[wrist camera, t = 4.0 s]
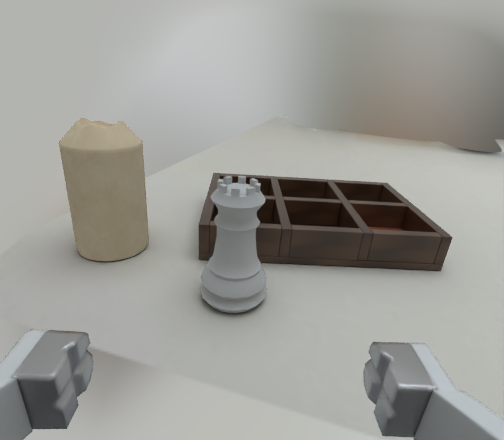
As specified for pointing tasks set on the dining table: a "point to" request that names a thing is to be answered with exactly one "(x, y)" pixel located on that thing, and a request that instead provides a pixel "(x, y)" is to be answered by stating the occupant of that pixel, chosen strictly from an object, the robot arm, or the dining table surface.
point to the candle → (105, 189)
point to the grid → (335, 225)
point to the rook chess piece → (235, 249)
